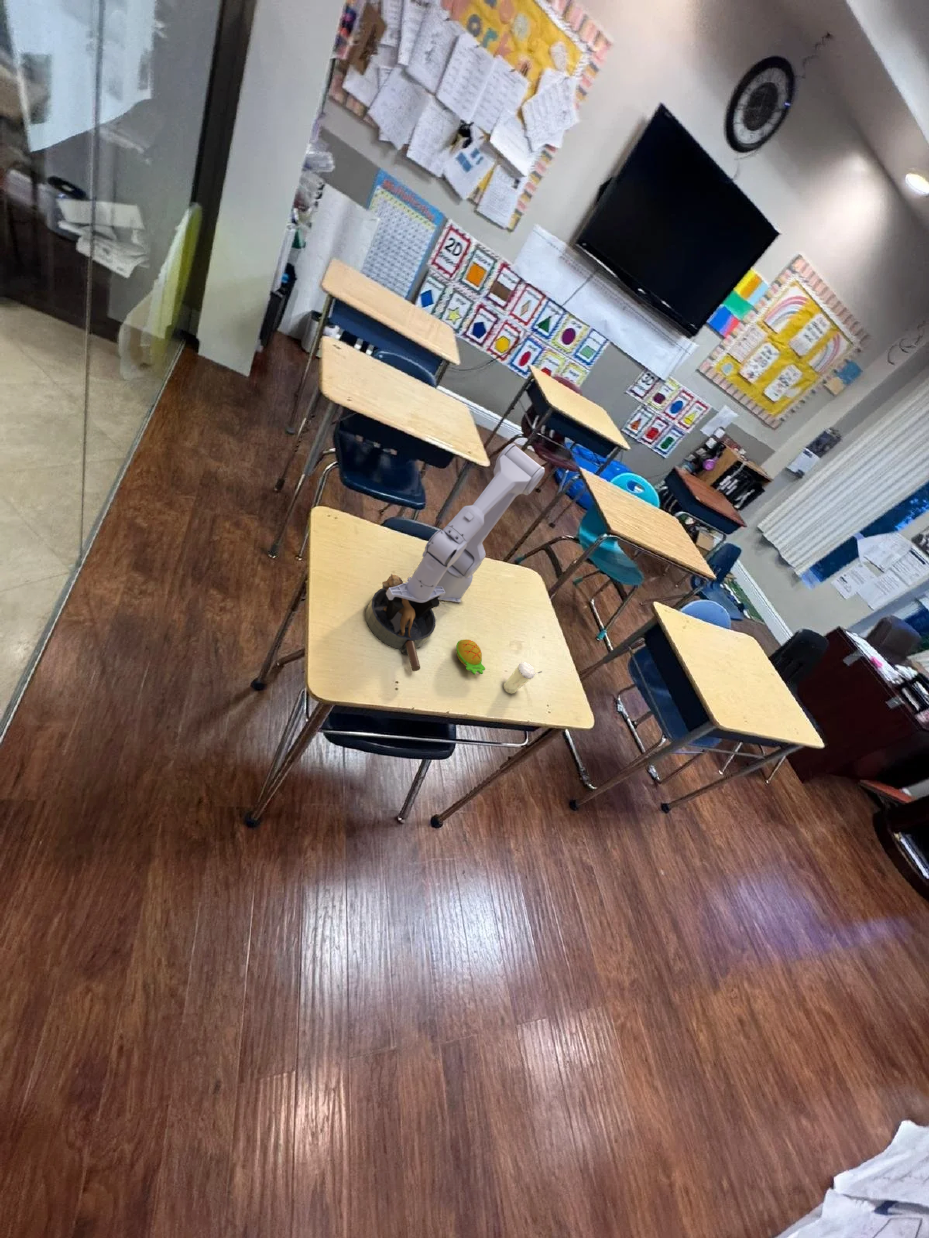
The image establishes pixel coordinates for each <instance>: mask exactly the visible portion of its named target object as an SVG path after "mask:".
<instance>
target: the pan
mask: <svg viewBox="0 0 929 1238" xmlns="http://www.w3.org/2000/svg"><path fill="white" fill-rule="evenodd" d="M386 592H387V591H386V589H384V588H383V587H382V588H380V589H378V590H377V591H376V592H374V595H373V596H372V598H371V599H370V602H369V603H368V605H367V607H366V609H365V620H366V624H367V626H368V627H369V630H370V631H371V632H372V634H373V635H374V637H376V638H377V639H378V640H379V641H380V642H382V643H384V644H385V645H387V646H389V647H390V648H391V647H392V648H393V649H397V650H401V649H402V648H403V646H404V645H405V643H406V642H407V641H414V644H415V648H416V650H417V649H419V648H422V647H423V646H424V645H425V644H426V642H427V641H428V640H429V638H431V636H432V635H433V633H434V631H435V629H436V624H437V623H436V621H437V619H436V616H435V613H434V611H433V608H432V609H430V610H429V611H427V612H426V613H424V614H423V615H422V616H421V617H419V618H416V617H415V618H414V620H413V623H412V626H411V630H410V635H411V637H412V638H409V637H408V628H409V627H407V628H405V633H404V636H401V635H398V634H399V633H401V627H400V620H401V616H402V614H400V613H399V612H397V614H396V615H395V616H394V618H393V619H392V620H388V618H387V616H386V611H384V610H383V608H384V607H387V604H388V597H387V595H386ZM408 601H409V603H410V605H411V606H412V608H413V609H414V608H415V606H416V604H417V603H418V602H415V601H411V600H408Z"/></svg>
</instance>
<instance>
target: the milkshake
mask: <svg viewBox="0 0 929 1238" xmlns="http://www.w3.org/2000/svg"><path fill="white" fill-rule="evenodd" d="M541 673H543V670H540V671H537V672H535V668H534V666H533V665H531V664H530V663H529V662H526V661H521V662H520V663H518V664H517V666H516V668H515V669H514V670H513V672H512V673H511V675H510V676H509V677H508V678H507V680H506V681H505V682H504V684H503V690H504V691H505V692H506V693H508V694H509V695H511V694H512V695H513V694H515V693H516V692H517V691H518V690H520V689H521V688H522V687H523V686H524V685H525V684H526V683H528V682H530V681H531V680H532V679H533V678H534V677H535V676H536V675H539V674H541Z"/></svg>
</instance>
